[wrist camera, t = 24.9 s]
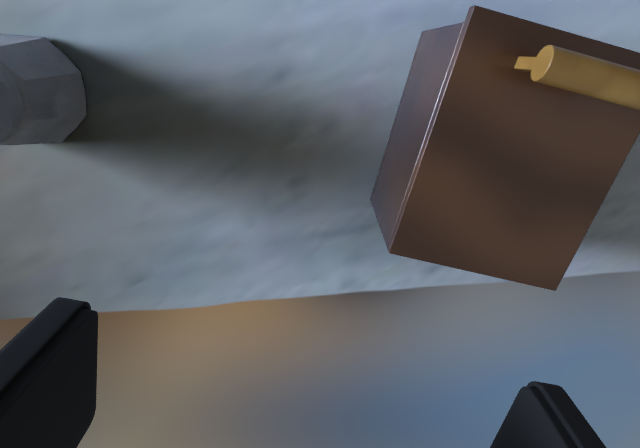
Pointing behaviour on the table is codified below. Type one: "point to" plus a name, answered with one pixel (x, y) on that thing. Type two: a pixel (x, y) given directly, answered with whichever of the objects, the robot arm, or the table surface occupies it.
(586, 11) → the table surface
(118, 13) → the table surface
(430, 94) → the chest
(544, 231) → the lid
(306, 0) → the table surface
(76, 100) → the coffeepot
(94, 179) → the table surface
